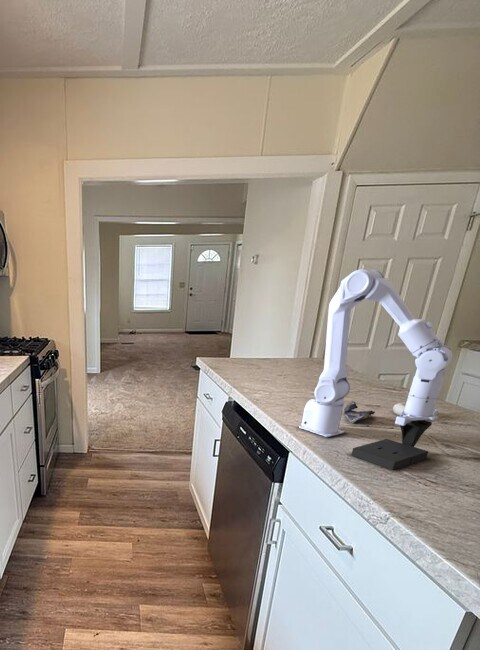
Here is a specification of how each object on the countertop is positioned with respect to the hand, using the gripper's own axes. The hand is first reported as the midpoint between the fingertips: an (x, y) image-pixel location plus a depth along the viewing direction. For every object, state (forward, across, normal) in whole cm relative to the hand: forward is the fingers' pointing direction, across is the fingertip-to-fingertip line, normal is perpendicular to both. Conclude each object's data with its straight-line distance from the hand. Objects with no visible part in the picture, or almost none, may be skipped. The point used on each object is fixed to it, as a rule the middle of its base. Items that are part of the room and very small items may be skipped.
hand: (407, 446), depth 104 cm
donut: (+1, +34, +17) cm, 38 cm away
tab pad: (+1, -4, 0) cm, 4 cm away
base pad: (+1, -12, 0) cm, 12 cm away
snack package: (+1, +15, +23) cm, 27 cm away
